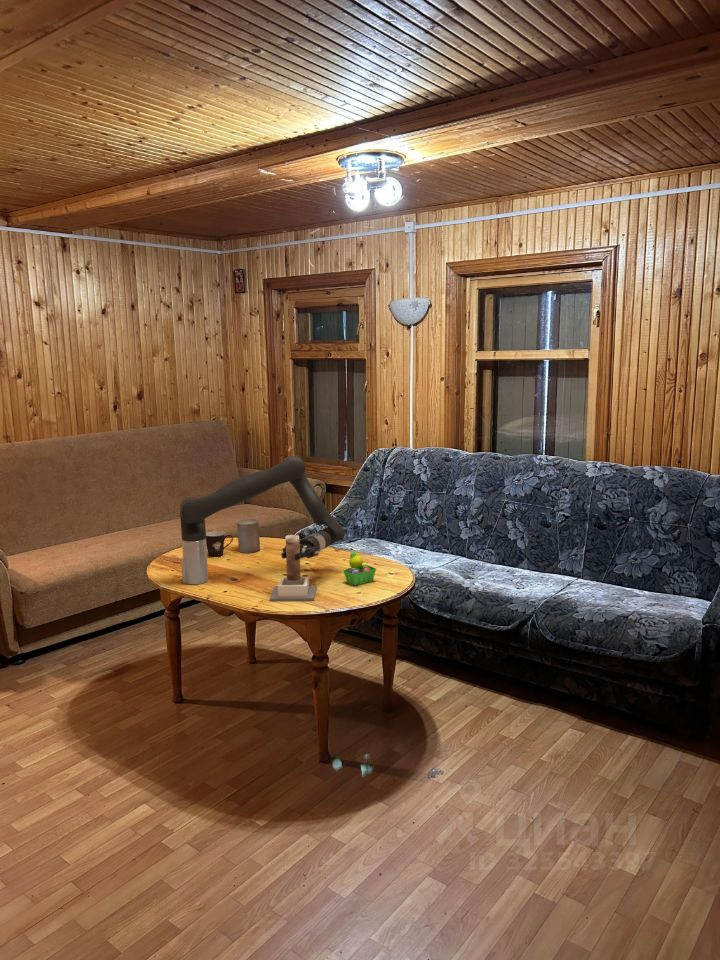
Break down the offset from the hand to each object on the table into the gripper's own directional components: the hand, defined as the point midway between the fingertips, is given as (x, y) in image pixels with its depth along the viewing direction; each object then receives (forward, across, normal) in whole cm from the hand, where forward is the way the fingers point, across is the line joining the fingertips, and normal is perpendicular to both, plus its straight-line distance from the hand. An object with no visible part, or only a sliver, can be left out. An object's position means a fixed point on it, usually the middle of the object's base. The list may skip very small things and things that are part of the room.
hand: (289, 556), depth 265 cm
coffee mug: (-34, -57, +15) cm, 68 cm away
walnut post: (-3, 0, +9) cm, 9 cm away
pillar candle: (-47, -50, +16) cm, 70 cm away
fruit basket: (-26, +15, +16) cm, 34 cm away
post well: (-2, 0, +15) cm, 15 cm away
